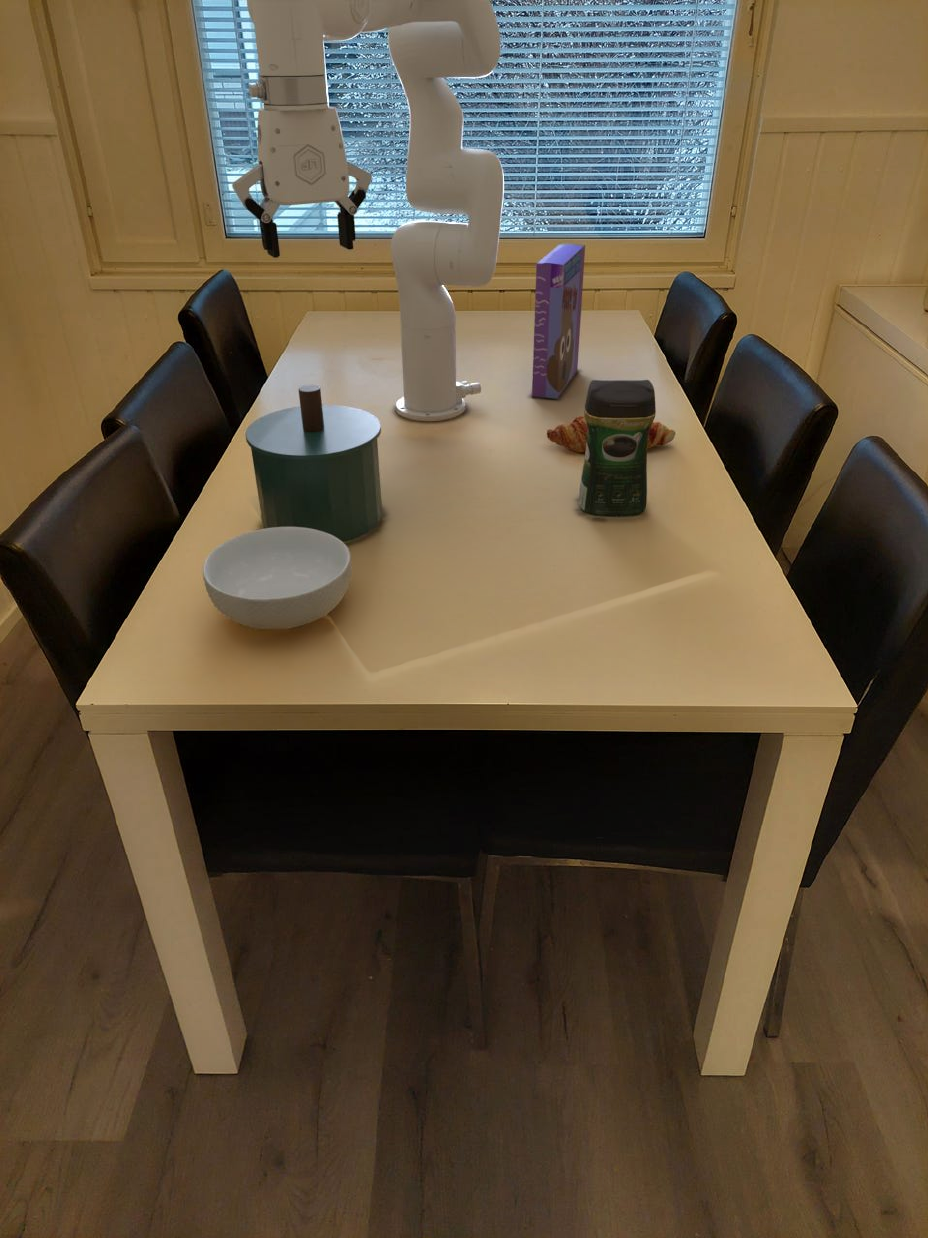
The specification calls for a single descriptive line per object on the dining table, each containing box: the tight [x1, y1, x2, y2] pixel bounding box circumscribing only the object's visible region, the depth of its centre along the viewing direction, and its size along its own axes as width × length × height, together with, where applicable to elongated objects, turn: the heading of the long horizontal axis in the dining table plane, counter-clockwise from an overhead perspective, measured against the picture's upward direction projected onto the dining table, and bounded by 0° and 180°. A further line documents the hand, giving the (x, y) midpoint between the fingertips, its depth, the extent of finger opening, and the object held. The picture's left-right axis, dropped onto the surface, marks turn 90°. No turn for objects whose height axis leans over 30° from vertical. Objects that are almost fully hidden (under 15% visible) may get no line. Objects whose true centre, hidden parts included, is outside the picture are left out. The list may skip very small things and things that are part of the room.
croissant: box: [546, 415, 677, 453], centre depth 144 cm, size 21×10×8 cm, turn 94°
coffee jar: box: [578, 379, 657, 518], centre depth 122 cm, size 10×8×19 cm
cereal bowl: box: [202, 527, 352, 630], centre depth 103 cm, size 17×17×7 cm
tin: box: [250, 438, 383, 543], centre depth 121 cm, size 17×17×13 cm
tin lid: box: [245, 384, 382, 460], centre depth 116 cm, size 18×18×7 cm
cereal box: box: [531, 242, 586, 401], centre depth 165 cm, size 17×5×24 cm, turn 161°
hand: (310, 251), depth 111 cm, fingers open, 9 cm apart
